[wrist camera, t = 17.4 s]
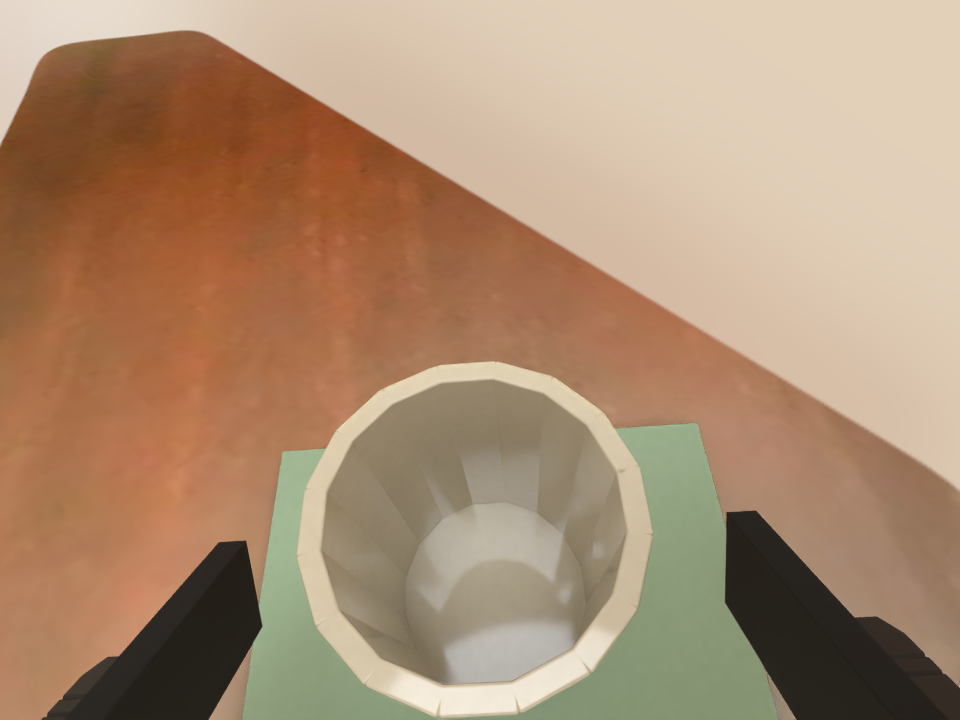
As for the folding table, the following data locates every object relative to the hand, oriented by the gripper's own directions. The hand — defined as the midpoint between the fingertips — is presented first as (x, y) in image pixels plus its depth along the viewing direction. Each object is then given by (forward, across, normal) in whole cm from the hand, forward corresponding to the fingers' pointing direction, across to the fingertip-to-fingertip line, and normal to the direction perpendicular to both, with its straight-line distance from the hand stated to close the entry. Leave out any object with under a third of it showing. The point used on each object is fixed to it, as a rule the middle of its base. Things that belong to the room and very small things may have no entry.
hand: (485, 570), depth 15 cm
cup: (+7, 0, -6) cm, 9 cm away
